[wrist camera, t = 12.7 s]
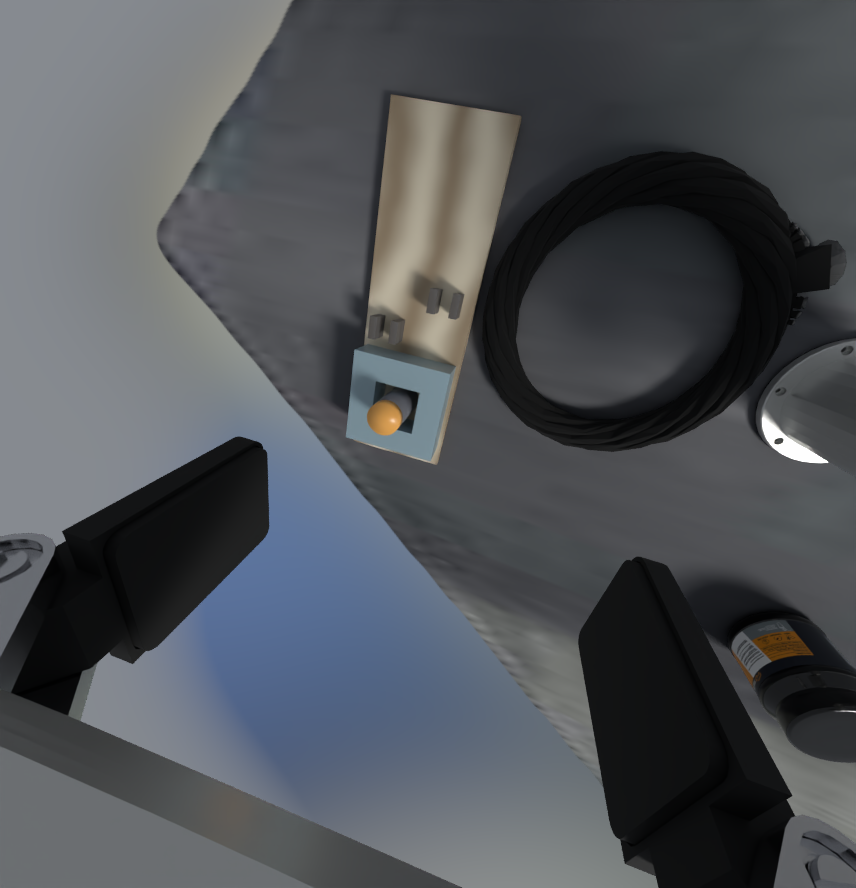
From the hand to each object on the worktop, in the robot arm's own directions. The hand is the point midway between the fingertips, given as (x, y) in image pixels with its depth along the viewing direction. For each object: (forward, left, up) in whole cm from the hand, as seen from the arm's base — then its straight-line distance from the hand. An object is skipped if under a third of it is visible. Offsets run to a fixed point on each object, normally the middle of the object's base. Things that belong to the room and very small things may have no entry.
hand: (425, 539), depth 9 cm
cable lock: (-13, -5, -35) cm, 38 cm away
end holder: (+9, +9, -33) cm, 35 cm away
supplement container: (-47, +29, -34) cm, 65 cm away
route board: (+9, -1, -34) cm, 35 cm away
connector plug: (+9, +9, -33) cm, 35 cm away
